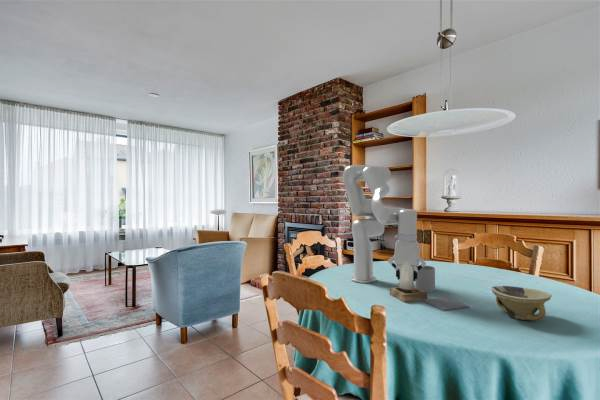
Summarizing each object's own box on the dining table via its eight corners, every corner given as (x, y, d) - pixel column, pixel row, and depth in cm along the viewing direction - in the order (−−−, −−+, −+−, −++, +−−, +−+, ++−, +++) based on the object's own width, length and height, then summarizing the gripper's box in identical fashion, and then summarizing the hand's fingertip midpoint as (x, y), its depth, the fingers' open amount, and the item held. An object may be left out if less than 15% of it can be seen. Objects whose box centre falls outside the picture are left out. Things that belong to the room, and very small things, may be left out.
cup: (436, 292, 143) (436, 269, 143) (417, 291, 145) (417, 269, 145) (432, 286, 151) (432, 265, 151) (414, 286, 153) (414, 265, 153)
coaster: (423, 300, 132) (423, 299, 132) (447, 297, 135) (447, 296, 135) (443, 310, 120) (443, 309, 120) (469, 307, 123) (469, 305, 123)
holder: (389, 294, 140) (389, 287, 140) (411, 292, 143) (411, 285, 143) (404, 302, 130) (404, 295, 130) (427, 299, 133) (427, 292, 133)
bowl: (565, 323, 107) (565, 294, 107) (524, 330, 102) (524, 300, 102) (516, 306, 124) (516, 281, 124) (479, 311, 119) (479, 285, 119)
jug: (399, 284, 141) (399, 257, 141) (413, 286, 139) (414, 259, 139) (398, 290, 134) (398, 262, 133) (413, 292, 132) (414, 263, 131)
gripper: (385, 238, 136) (385, 280, 137) (429, 240, 130) (428, 284, 131) (387, 235, 143) (386, 275, 144) (428, 237, 137) (427, 279, 138)
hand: (406, 279), depth 137 cm, fingers closed on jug, 6 cm apart
